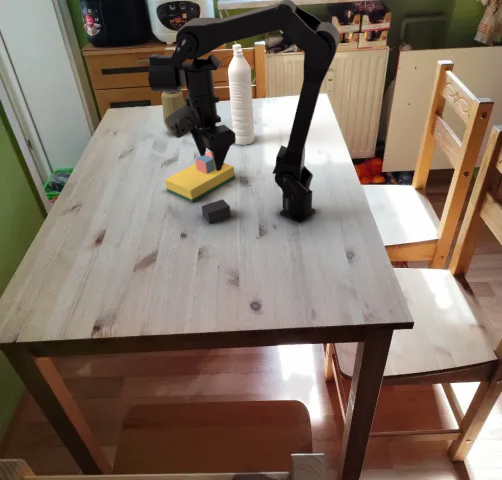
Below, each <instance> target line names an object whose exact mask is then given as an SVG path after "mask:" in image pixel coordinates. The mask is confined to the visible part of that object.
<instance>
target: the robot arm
mask: <svg viewBox="0 0 502 480" xmlns="http://www.w3.org/2000/svg"><path fill="white" fill-rule="evenodd" d="M277 31H281V32H282V33H283V34H285V35H286V37H288V39H289V40H290V41H291V42H292V43H293V44H294V46H296V47H297V48H298V50H300V51H302V52H303V53H304V54H303V80H302V85H301V89H300V93H299V97H298V101H297V106H296V109H295V114H294V117H293V121H292V126H291V130H290V135H289V139H288V142H287V146H285V145H280V147H279V150H278V152H277V155H276V157H275V165H274V168H273V170H272V175H274V182H275V183H276V185H277V186H278V187H279V188H280V189H281V191H282V210H281V211H279V215H280V216H281V217H284V218H287V219H288V220H291V221H294V222H297V223H299V224H301V223H302V222H304V221H305V220H306V219H308V218H309V217H311V216H312V215H313V214H315V213H316V209H315V208H313V190H311V188H310V187H311V183H312V180H313V178H314V177H313V176H314V173H312V172H311V171H310V170H309V169H308V168H307V167H306V166H305V161H306V143H307V140H308V136H309V132H310V128H311V125H312V121H313V117H314V114H315V111H316V107H317V103H318V99H319V95H320V91H321V88H322V85H323V82H324V80H325V77H326V76H327V74H328V71H329V69H330V67H331V65H332V63H333V60H334V59H335V57H336V53H337V50H338V47H339V45H340V39H341V37H340V32H339V30H338V28H337V27H336V26H335V25H334V24H333V23H332V22H328V21H321V19H320V18H318V17H317V16H315V15H314V14H312V13H310V12H308V11H307V10H304V9H303V8H301V7H299V5H297V4H296V3H295V2H294V1H292V0H281V1H279V2H277V3H273V4H269V5H266V6H263V7H259V8H256V9H252V10H248V11H244V12H241V13H237V14H234V15H230V16H227V17H220V18H219V17H195V18H194V17H193V18H192V19H190V20H189V21H187V22H185V24H184V25H182V26H181V27H180V28H179V29H178V30H177V33H176V35H175V48H174V51H173V53H172V55H163V54H162V55H161V54H154V53H153V54H151V55H150V56H149V57H148V60H149V65H148V76H147V81H148V85H149V87H150V90H151V91H152V92H154V93H163V92H180V91H181V92H182V89H183V88H184V87H185V86H186V91H187V95H186V96H184V102H185V106H183V107H182V108H180V109H178V110H176V111H175V112H174V113H172V114H171V115H169V116H168V117H167V118H166V119H165V122H166V123H167V125H168V127H169V129H170V130H171V132H172V134H174V135H173V136H175V138H177V139H181V138H182V137H184V136H185V135H186V134H188V133H190V135H191V136H192V139H193V141H194V144H195V146H196V148H197V151H198V154H199V157H200V156H204V155H205V154H206V153H207V152H206V151H207V150H208V151H209V152H210V151H211V154H212V158H213V162H214V165H215V168H216V171H220V170H221V169H222V166H223V163H225V160H226V158H227V155H228V153H229V151H230V148H231V146H233V145H234V144H236V143H235V142H236V138H235V132H233V129H231V128H230V127H228V126H227V125H225V124H221V125H217V124H219V123H222V117H221V116H220V115H219V114H218V110H217V104H218V103H220V98H219V96H218V95H217V94H216V91H215V84H214V74H213V71H218V69H219V68H220V67H221V66H222V64H223V62H222V61H221V60H220V59H219V58H217V57H216V56H215V55H214V53H211V52H213V51H215V50H217V49H218V48H220V47H222V46H223V45H226V44H230V43H234V42H237V41H241V40H246V39H249V38H253V37H257V36H261V35H265V34H269V33H272V32H277ZM209 53H210V54H209ZM207 54H209V55H208V57H204V56H205V55H207ZM187 60H189V61H192V62H186V61H187ZM172 134H171V135H172Z"/></svg>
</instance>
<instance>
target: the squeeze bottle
mask: <svg viewBox="0 0 502 480" xmlns="http://www.w3.org/2000/svg"><path fill="white" fill-rule="evenodd" d="M184 99H185V97H184V94H183V91H182V90H181V91H180V92H161V102H162V103H161V105H162V115H163V124H164V125H165V127H166V129H167V131H168V133H169V135H172V136H175V135H174V134H172V132H171V130H170V129H169V127H168V125H167V123H166V122H165V119H166V118H167V117H168V116H169V115H171V114H172V113H174V112H175V111H176V110H178V109H180V108H182V107H183V106H185V100H184Z"/></svg>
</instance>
